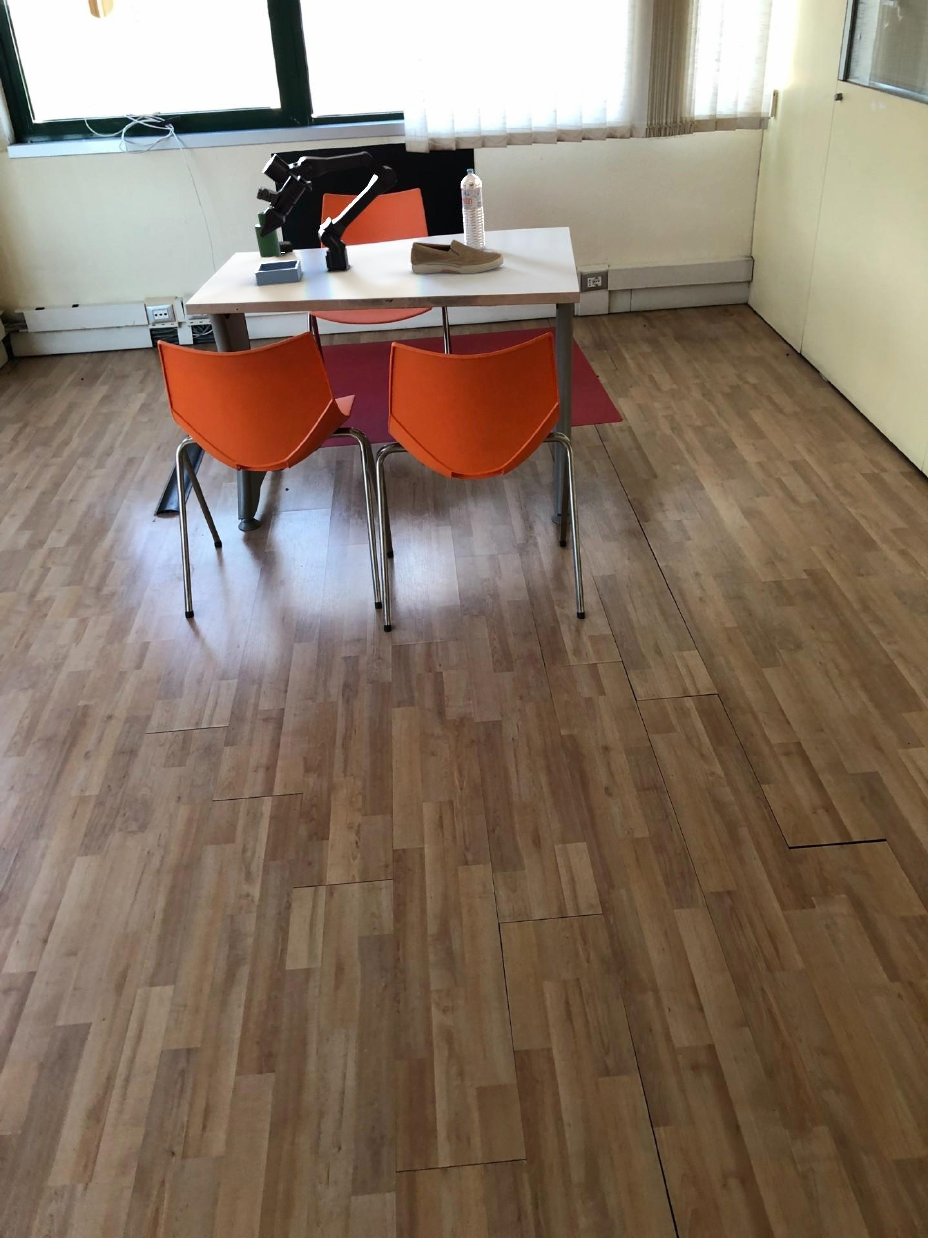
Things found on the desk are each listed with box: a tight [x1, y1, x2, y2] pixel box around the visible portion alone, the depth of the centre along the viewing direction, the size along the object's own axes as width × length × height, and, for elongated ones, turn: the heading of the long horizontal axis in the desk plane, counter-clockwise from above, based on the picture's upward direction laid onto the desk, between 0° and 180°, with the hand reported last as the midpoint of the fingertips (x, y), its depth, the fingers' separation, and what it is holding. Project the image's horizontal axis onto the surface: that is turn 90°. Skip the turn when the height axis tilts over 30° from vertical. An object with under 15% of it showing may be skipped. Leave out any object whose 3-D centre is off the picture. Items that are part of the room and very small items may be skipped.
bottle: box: [254, 211, 281, 259], centre depth 309 cm, size 7×7×13 cm
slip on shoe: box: [410, 239, 505, 275], centre depth 304 cm, size 30×11×9 cm, turn 78°
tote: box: [254, 259, 303, 286], centre depth 312 cm, size 13×12×4 cm
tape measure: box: [279, 240, 294, 256], centre depth 343 cm, size 7×7×4 cm
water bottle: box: [460, 168, 486, 251], centre depth 322 cm, size 7×7×25 cm
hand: (262, 233), depth 309 cm, fingers closed on bottle, 7 cm apart
